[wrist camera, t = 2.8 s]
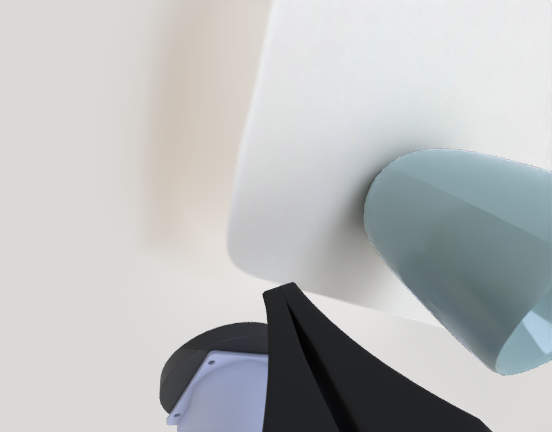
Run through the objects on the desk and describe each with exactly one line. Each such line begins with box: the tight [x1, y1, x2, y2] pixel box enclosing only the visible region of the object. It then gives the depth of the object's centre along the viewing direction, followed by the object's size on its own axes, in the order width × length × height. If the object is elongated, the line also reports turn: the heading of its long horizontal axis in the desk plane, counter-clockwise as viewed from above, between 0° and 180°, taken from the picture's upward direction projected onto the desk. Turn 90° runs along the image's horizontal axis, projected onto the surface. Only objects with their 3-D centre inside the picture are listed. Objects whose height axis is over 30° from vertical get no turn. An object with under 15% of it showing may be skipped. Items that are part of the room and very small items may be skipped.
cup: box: [363, 148, 552, 375], centre depth 14 cm, size 8×8×10 cm
